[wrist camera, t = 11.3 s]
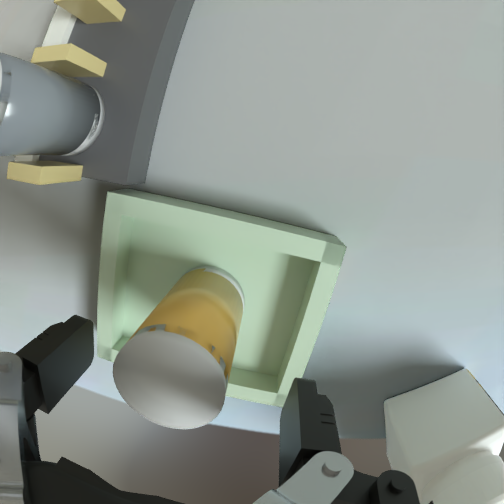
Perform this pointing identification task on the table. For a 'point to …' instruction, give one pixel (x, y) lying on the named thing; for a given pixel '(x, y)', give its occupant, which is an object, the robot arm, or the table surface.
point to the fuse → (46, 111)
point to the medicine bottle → (448, 441)
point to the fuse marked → (184, 351)
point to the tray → (231, 260)
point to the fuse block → (110, 83)
